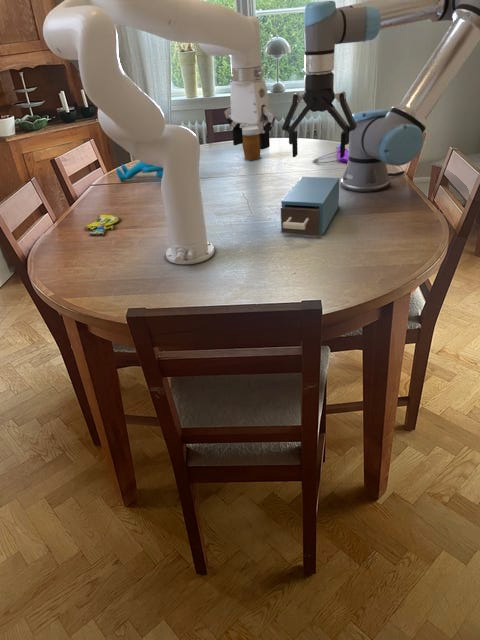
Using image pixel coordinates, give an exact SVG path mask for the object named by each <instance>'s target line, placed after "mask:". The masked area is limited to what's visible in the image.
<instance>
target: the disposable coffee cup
mask: <svg viewBox="0 0 480 640" xmlns="http://www.w3.org/2000/svg"><path fill="white" fill-rule="evenodd" d="M240 128H242V135H243V143H242V150H243V155H244V159H245V160H248V161H252V160H258V159H260V158H261V149H260V140H259V133H261V131H260V130H259V128H258V126H257V125H249V124H247V125H243V126H240Z"/></svg>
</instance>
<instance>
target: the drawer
mask: <svg viewBox="0 0 480 640" xmlns="http://www.w3.org/2000/svg"><path fill="white" fill-rule="evenodd" d="M280 226H281V227H280V229H281V230H280V231H281V233H282V234H296V235H309V236H320V235H319V207H316V206H298V205H288V206H287V207H282V206H281V207H280Z"/></svg>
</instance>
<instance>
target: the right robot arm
mask: <svg viewBox="0 0 480 640" xmlns="http://www.w3.org/2000/svg"><path fill="white" fill-rule="evenodd" d="M303 17H304V18H303V20H304V21H303V28H304V29H303V30H304V31H303V32H304V72H305V73H306V74H305V75H304V93H300V92H296V93H294V94H293V95H292V102H291V105H290V108H289V111H288V112H287V114H286V117H285V119H284V122H283V124H282V127H281V130H283V131H285V132H287V133H288V144H289V145H292V147H291V149H292V158H296V157H297V156H298V155H299V153H298V149H299V148H298V130H296V129H297V127H299V125H300V124H301V122H302V121H303V119H304V118H305V117H306V116H307V114H308V113H309V112H310V111H311V112H312V113H315V112H321V113H325V112H326V111H327V113H328V114H329V115H330V116H331V117H332V118H333V119H334V121H335V122H336V124H337V125H338V126H339V127H340V128H341V130H342V131H341V132H340V145H341V149H340V158H343V157H344V156H345V149H346V146H347V145H348V151H349V154H348V162H347V164H346V167H345V169H344V172H343V174H342V178H341V187H342V188H343V189H345V190H348V191H350V192H359V193H370V192H371V193H372V192H378V191H382V190H384V189H386V188H388V187H389V186H390V177H397V176H401V175H404V174H405V170H402V171H397V172H393V173H392V172H388V168H387V165H388V166H389V165H391V166H395V167H399V166H404V165H407V164H409V163H411V162H412V161H413V160H414V159H415V158H416V157H417V156H418V155H419V154H420V152H421V150H422V149H423V145H424V143H423V141H424V134H423V133H424V132H425V131H426V130H427V124H426V120H427V118H428V117H429V115H430V114H431V112H432V111H433V110H434V108H435V107H436V105H437V103H438V102H439V100H440V99H441V98H442V96H443V95H444V93H445V92H446V90H447V89H448V87H449V86H450V84H451V83H452V81H453V80H454V78H455V77H456V75H457V74H458V73H459V71H460V70H461V68H462V67H463V65H464V64H465V62H466V61H467V59H468V57H469V56H470V55H471V53H472V52H473V51H474V49H475V47H476V46H477V44H478V43H479V41H480V0H366V1H363V2H358V3H354V4H350V5H345V6H340V7H337V5H336V2H335V0H323V1H314V2H313V1H312V2H308V3H307V4H306V5H305V7H304V15H303ZM422 21H428V22H429V23H436V22H443V21H452V23H451V25H450V27H449V28H448V30H447V31H446V32H445V34H444V36H443V37H442V39H441V40H440V42H439V43H438V45H437V46H436V48H435V49H434V51H433V52H432V54H431V56H430V57H429V59H428V60H427V62H426V63H425V65H424V66H423V68H422V69H421V71H420V73H419V74H418V76H417V77H416V79H415V80H414V82H413V83H412V84H411V86H410V88H409V90H408V91H407V92H406V94H405V96H404V97H403V98H402V100H401V101H400V103H399V104H396V105H393V106H391V108H390V109H389V110H388V109H372V110H363V111H358V112H354V113H353V112H352V111H351V108H350V106H349V103H348V102H347V93H346V91H345V90H344V91H343V90H342V91H341V92H338V93H335V90H334V89H335V88H334V87H335V86H334V85H335V73H334V72H333V71H334V70H335V50H336V49H335V48H336V45H340V44H352V43H362V42H363V43H366V42H368V41H372V40H375V39H376V38H377V37H378V35H379V33H380V31H383V30H386V29H392V28H396V27H401V26H406V25H410V24H414V23H419V22H422ZM335 99H336V101H337V103H339V105H340V107H341V109H342V112H343V115H344V117H345V118H343V116H342V115H341V114H340V112H339V110H337V108H336V106H335V105H334V104H333V102H334V101H335ZM302 101H303V102H304V103H305V107H304V108H303V109H302V110H301V112H300V113H299V115H298V116H297V118H296V119H295V120H294V121H293V122H292V120H293V119H294V118H293V117H294V116H295V113H296V111H297V108H298V106H299V103H301V102H302ZM345 119H346V120H345ZM291 122H292V124H291Z"/></svg>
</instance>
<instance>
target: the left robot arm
mask: <svg viewBox="0 0 480 640" xmlns="http://www.w3.org/2000/svg"><path fill="white" fill-rule="evenodd" d="M116 27H130V28H133V29H136V30H139V31H142V32H145V33H147V34H151V35H154V36H156V37H159V38H160V39H161V38H162V39H165V40H167V41H170V42H176V43H180V44H181V43H183V44H198V47H199V48H200V50H201V51H202V52H203V53H205V54H207V55H208V56H212V57H227V56H229V58H230V67H231V68H230V69H231V82H230V97H229V98H230V99H229V100H230V101H229V102H230V107H228V108H226V110H224V111H223V112H224V115H225V118H226V122H227V124H228V125H229V128H230V130H232V131H231V132H232V143H233V146H239V145H241V144H242V143H243V135H242V128H241V127H242V125H257V126H258V128H259V130H260V131H261V133H259V140H260V150H265V149H268V148H270V146H271V145H270V144H271V143H270V142H271V141H270V132H272V128H273V127H274V126H275V121H276V119H277V114H276V113H274V111H272V110H271V109H270V102H269V94H268V88H267V84H266V81H265V79H264V80H263V77H264V75H265V71H264V70H263V67H262V46H261V45H262V43H261V42H262V41H261V25H260V20H259V18H258V17H257V16H254V15H251V16H246V15H244V14H243V13H241V12H239V11H236V10H235V9H232V8H229V7H228V6H224V5H221V4H218V3H213V2H210V1H205V0H63V1H61V3H59V4H58V5H56V6H55V7H54V8H52V9H51V10H50V11H49V12H48V13H47V15H46V17H45V19H44V21H43V25H42V35H43V39H44V42H45V44H46V46H47V47H48V48H49V50H50V51H51V52H52V53H53V54H54V55H55V56H57V57H59V58H61V59H63V60H68V61H77V62H78V70H79V76H80V79H81V84H82V88H83V91H84V93H85V94H86V96H87V98H88V99H89V100H90V102H91V103H93V105H94V106H95V107H97V119H98V123H99V126H100V128H101V129H102V131H103V132H104V133H105V135H106V136H107V137H108V138H110V139H111V140H112V141H113V142H114V143H116V145H119V146H120V147H121V148H122V149H123V150H125V152H127V153H129V155H131V156H132V157H134V158H135V159H137V160H138V161H139V162H140V161H142V162H144V163H146V164H150V165H154V166H159V167H163V169H164V170H163V176H162V179H160V180H161V181H160V193H161V199H162V204H163V210H164V216H165V222H166V223H165V224H166V228H167V234H168V240H169V247H168V248H167V250H166V251H165V257H166V260H167V261H169V262H170V263H173V264H176V265H193V264H199V263H203V262H205V261H207V260H208V259H210V258H211V257H213V255H214V254H215V246H214V244H212V243H210V242H209V241H208V236H207V228H206V221H205V214H204V213H205V212H204V203H203V197H202V188H201V180H200V179H201V178H200V160H201V145H200V140H199V138H198V137H197V135H196V134H195V133H194V132H193V131H192V130H191V129H189V128H187V127H185V126H183V125H177V124H168V123H166V118H165V114H164V112H163V111H162V108H161V107H160V106H159V105H158V104H157V103H156V101H154V100H153V99H152V98H151V97H150V96H149V95H148V94H147V93H146V92H145V91H144V90H143V89H141V88H140V86H138V85H137V84H136V83H135V82H134V81H133V80H132V79H131V78H130V77H129V76H128V75H127V73H126V72H125V71H124V69H123V67H122V64H121V62H120V57H119V37H118V32H117V28H116Z"/></svg>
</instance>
